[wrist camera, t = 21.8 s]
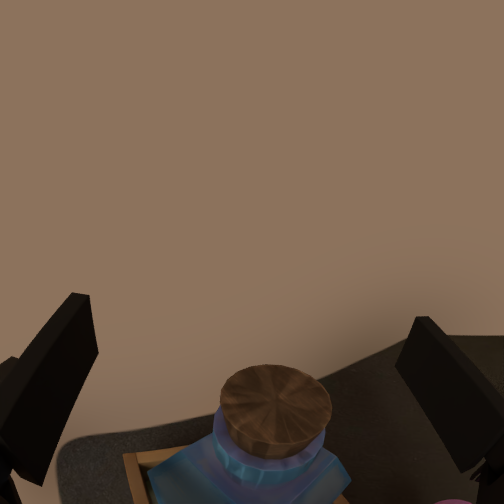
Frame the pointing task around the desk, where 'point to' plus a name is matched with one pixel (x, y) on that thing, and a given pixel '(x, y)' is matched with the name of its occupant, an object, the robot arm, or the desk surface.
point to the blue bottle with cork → (258, 446)
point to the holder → (147, 460)
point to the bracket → (453, 502)
